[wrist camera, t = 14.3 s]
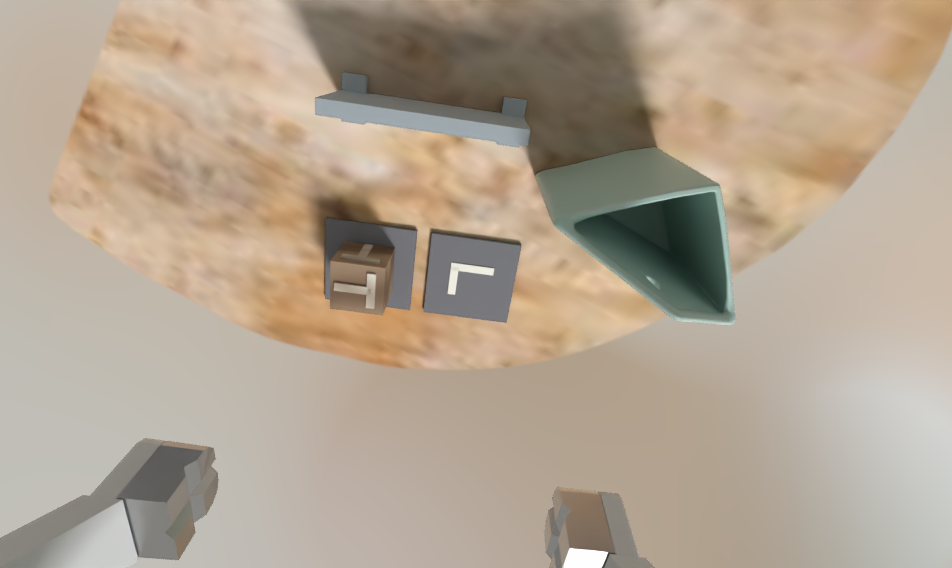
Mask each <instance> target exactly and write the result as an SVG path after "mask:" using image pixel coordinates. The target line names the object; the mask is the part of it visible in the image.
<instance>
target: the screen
mask: <svg viewBox="0 0 952 568" xmlns="http://www.w3.org/2000/svg"><path fill="white" fill-rule="evenodd" d="M367 79H368V76H367V75H360V74H354V73H347V72H342V90H340V91H337V92H333V93H330V94H326V95H323V96H319V97H316V98H315V115H319V116H326V117H333V118H340V119H341V121H343V122H350V123H357V124H365V123H366V122H367V123H373V124H380V125H387V126H393V127H400V128H407V129H414V130H420V131H427V132H434V133H440V134H447V135H454V136H461V137H467V138H474V139H481V140H488V141H494V142H497V144H498V145H505V146H512V147H518V148H519V145H521V146H528V143H529V137H530V132H531V130H530V128H529V126H528V124H527V122H526V120H525V118H524V116H525V110H526V104H527V100H524V99H517V98H511V97H504V100H503V106H502V113H497V112H491V111H484V110H478V109H471V108H464V107H458V106H451V105H445V104H438V103H431V102H425V101H418V100H412V99H405V98H398V97H392V96H385V95H379V94H372V93H367Z"/></svg>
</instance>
